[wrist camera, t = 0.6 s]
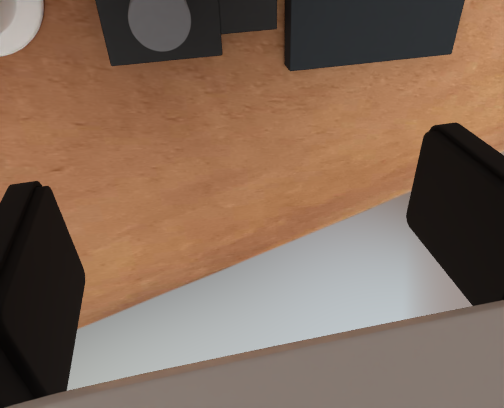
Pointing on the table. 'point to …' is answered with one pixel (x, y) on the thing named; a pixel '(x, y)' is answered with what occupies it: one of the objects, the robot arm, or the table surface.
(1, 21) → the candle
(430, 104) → the table surface
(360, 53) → the dock pad
